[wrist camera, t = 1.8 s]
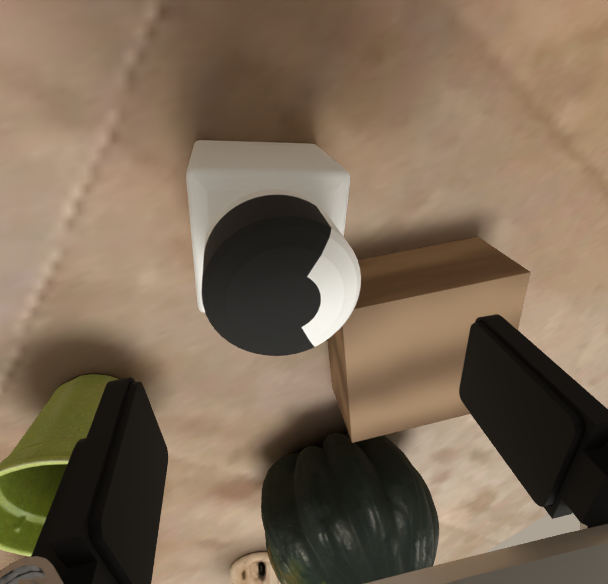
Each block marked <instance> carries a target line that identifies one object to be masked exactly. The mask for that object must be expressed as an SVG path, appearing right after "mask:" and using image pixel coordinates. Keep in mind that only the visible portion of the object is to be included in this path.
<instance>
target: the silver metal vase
mask: <svg viewBox="0 0 608 584" xmlns="http://www.w3.org/2000/svg"><path fill="white" fill-rule="evenodd" d="M230 576H231V581H232V584H281V583H280V582H279V580H278V578H277V577H276V574H275V572H274V570H273V568H272V566H271V564H270V561H269V557H268V554H267V552H256V553H251V554H248V555H245V556H243V557H241V558H239V559H238V560H237V561H235V562H234V563H233V565H232V566H231V569H230Z"/></svg>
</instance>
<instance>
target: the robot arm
mask: <svg viewBox="0 0 608 584" xmlns="http://www.w3.org/2000/svg"><path fill="white" fill-rule="evenodd" d="M459 395H460V398H461V401H462V402H463V404H464V405H465V407H466V408H467V409H468V411H469V412H470V413H471V415H472V416H473V418H474V419H475V420H476V422H477V423H478V425H479V426H480V427H481V429H482V430H483V431H484V433H485V434H486V436H487V437H488V438H489V440H490V441H491V443H492V444H493V445H494V447H495V448H496V449H497V451H498V452H499V454H500V455H501V456H502V458H503V459H504V460H505V462H506V463H507V465H508V466H509V467H510V469H511V470H512V472H513V473H514V474H515V476H516V477H517V478H518V480H519V481H520V483H521V484H522V485H523V487H524V488H525V489H526V491H527V492H528V494H529V495H530V496H531V498H532V499H533V500H534V502H535V503H536V504H537V505H539V506H541V507H544V508H545V509H546V511H547V512H548V514H549V515H550V516H551V517H552V519H553V518H557V517H561V516H564V515H569V514H572V512H573V513H574V515H575V516H576V517H577V519H578V520H579V521H580V530H579V531H574V532H570V533H565V534H561V535H557V536H553V537H549V538H545V539H541V540H537V541H533V542H529V543H525V544H520V545H517V546H512V547H508V548H504V549H500V550H496V551H492V552H488V553H484V554H480V555H476V556H472V557H468V558H464V559H460V560H456V561H452V562H448V563H444V564H440V565H436V566H432V567H428V568H424V569H420V570H416V571H412V572H408V573H404V574H400V575H396V576H392V577H388V578H384V579H381V580H377V581H373V582H369V583H365V584H608V409H607V408H606V407H604V406H603V405H602V404H601V403H600V402H599V401H598V400H596V399H595V398H594V397H593V396H592V395H591V394H590V393H589V392H587V391H586V390H585V389H584V388H583V387H582V386H581V385H579V384H578V383H577V382H576V381H575V380H574V379H573V378H571V377H570V376H569V375H568V374H567V373H566V372H565V371H564V370H562V369H561V368H560V367H559V366H558V365H557V364H556V363H554V362H553V361H552V360H551V359H550V358H549V357H548V356H546V355H545V354H544V353H543V352H542V351H541V350H540V349H538V348H537V347H536V346H535V345H534V344H533V343H532V342H531V341H529V340H528V339H527V338H526V337H525V336H524V335H523V334H521V333H520V332H519V331H518V330H517V329H516V328H515V327H513V326H512V325H511V324H510V323H509V322H508V321H507V320H506V319H504V318H503V317H502V316H500V315H498V314H495V315H489V316H483V317H479V318H477V319H476V320H475V323H473V324H472V325H471V327H470V332H469V337H468V343H467V348H466V354H465V360H464V365H463V371H462V376H461V382H460V387H459ZM167 465H168V451H167V447H166V444H165V441H164V439H163V436H162V433H161V431H160V428H159V426H158V423H157V420H156V418H155V415H154V413H153V410H152V407H151V405H150V402H149V400H148V397H147V394H146V392H145V389H144V387H143V384H142V383H141V382H135V381H134V379H133V378H125V379H119V380H114V381H109V382H108V383H107V384H106V386H105V389H104V392H103V394H102V397H101V400H100V402H99V405H98V408H97V411H96V413H95V416H94V419H93V421H92V424H91V427H90V429H89V432H88V435H87V438H83V439H80V440H79V441H78V442H77V443H76V445H75V447H74V449H73V451H72V454H71V456H70V459H69V461H68V464H67V467H66V469H65V472H64V474H63V477H62V479H61V482H60V484H59V487H58V489H57V492H56V494H55V497H54V500H53V502H52V505H51V507H50V510H49V512H48V515H47V517H46V520H45V522H44V525H43V528H42V530H41V533H40V535H39V538H38V540H37V543H36V545H35V548H34V550H33V553H32V556H31V557H27V558H23V559H21V560H18V561H16V562H13V563H11V564H9V565H8V566H6V567H5V568H3V569H2V570H0V584H151V580H152V573H153V566H154V558H155V551H156V544H157V537H158V530H159V522H160V515H161V508H162V501H163V494H164V486H165V479H166V472H167Z"/></svg>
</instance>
